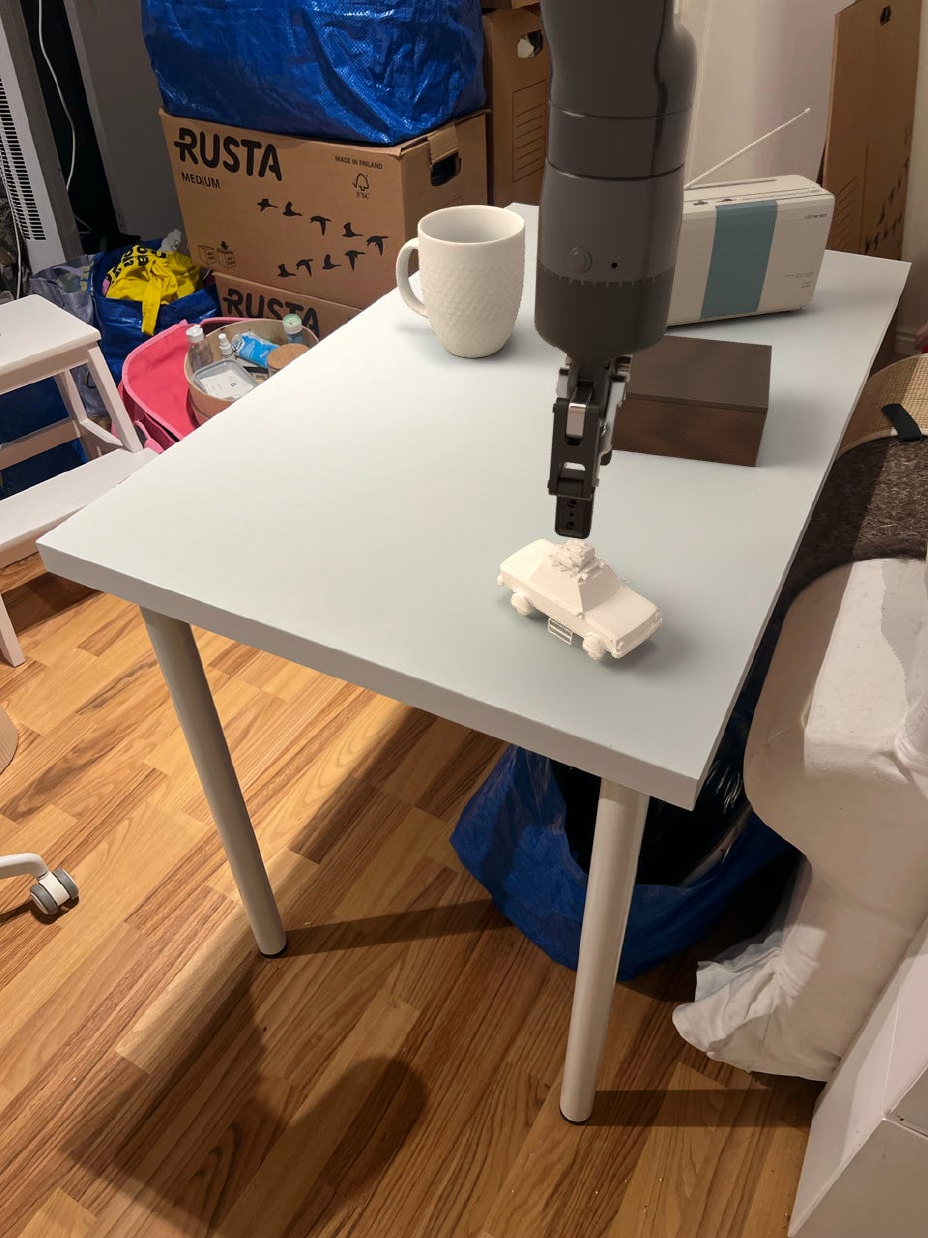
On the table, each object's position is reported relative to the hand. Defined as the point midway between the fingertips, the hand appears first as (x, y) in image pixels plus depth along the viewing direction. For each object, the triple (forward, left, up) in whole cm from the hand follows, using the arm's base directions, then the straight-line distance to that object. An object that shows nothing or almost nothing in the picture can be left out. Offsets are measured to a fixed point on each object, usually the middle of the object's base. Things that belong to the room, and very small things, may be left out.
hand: (584, 496), depth 60 cm
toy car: (0, 0, -11) cm, 11 cm away
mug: (+20, -42, -11) cm, 48 cm away
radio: (-6, -56, -11) cm, 57 cm away
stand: (-5, -30, -11) cm, 32 cm away
